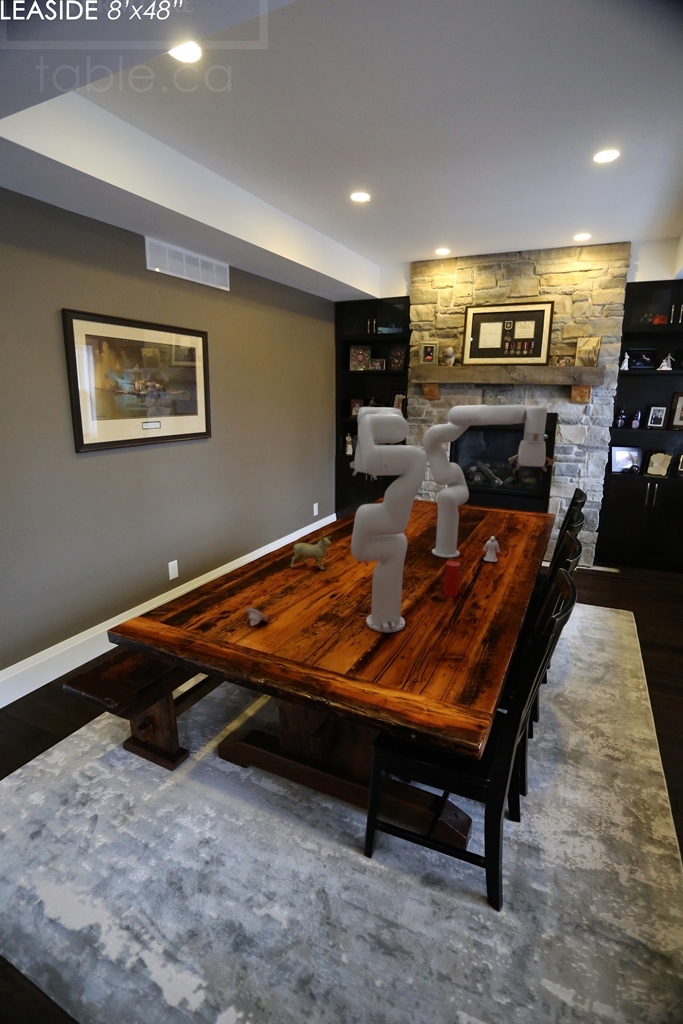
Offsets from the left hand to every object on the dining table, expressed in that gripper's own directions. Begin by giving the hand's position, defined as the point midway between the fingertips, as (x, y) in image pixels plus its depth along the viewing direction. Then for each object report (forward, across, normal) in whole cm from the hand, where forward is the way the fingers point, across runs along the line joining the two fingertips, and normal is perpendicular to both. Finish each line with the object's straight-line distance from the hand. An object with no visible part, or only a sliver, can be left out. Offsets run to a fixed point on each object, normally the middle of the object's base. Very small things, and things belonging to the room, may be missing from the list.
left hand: (366, 488), depth 185 cm
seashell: (+38, -1, +50) cm, 63 cm away
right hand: (-1, -33, -60) cm, 69 cm away
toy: (+38, +27, +4) cm, 47 cm away
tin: (+38, -27, -19) cm, 51 cm away
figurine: (+38, -17, -64) cm, 77 cm away
